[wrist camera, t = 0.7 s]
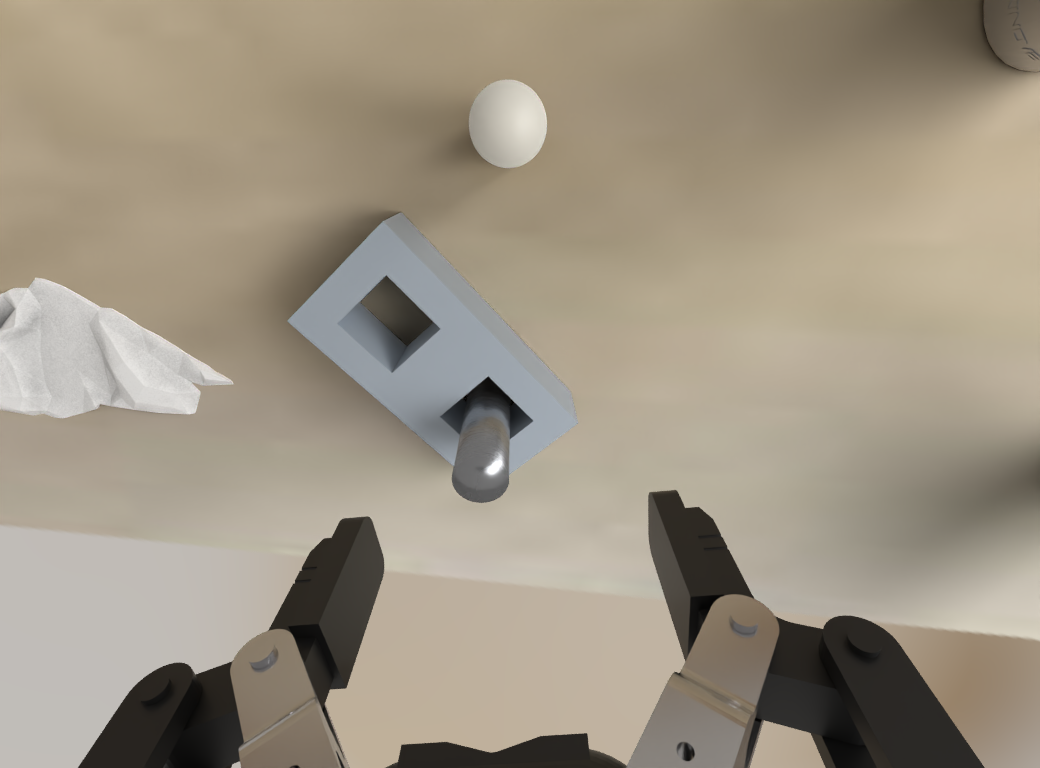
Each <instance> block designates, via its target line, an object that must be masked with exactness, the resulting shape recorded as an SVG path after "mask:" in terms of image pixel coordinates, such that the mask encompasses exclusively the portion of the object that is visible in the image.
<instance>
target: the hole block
mask: <svg viewBox="0 0 1040 768" xmlns="http://www.w3.org/2000/svg"><path fill="white" fill-rule="evenodd" d="M386 276H388V277H389V278H390V279H391V280H392V281H393V282H394V283H395V284H396V285H397V286H398V287H399V288H400V289H401V290H402V291H403V292H404V293H405V294H406V295H407V296H408V297H409V298H410V299H411V300H412V301H413V302H414V303H415V304H416V305H417V306H418V307H419V308H420V309H421V310H422V311H423V312H424V313H425V314H426V315H427V316H428V317H429V318H430V319H431V320H432V321H433V323H432V324H431V325H430V326H429V327H428V328H427V329H426V330H424V331H423V332H422V333H421V334H420V335H419V336H418V337H417V338H416V339H415V340H414V341H412V342H411V343H410V344H409V345H408V346H406V345H405V344H404V343H403V342H402V341H401V340H400V339H399V338H397V337H396V336H395V335H394V334H393V333H392V332H391V331H390V330H389V329H388V328H387V327H386V326H385V325H384V324H383V323H382V322H380V321H379V320H378V319H377V318H376V317H375V316H374V315H373V314H372V313H371V312H370V311H369V310H368V309H367V308H366V307H365V306H364V305H362V304H361V303H360V302H361V301H362V300H363V299H364V298H365V297H366V296H367V295H368V294H369V293H370V292H371V291H372V290H373V289H374V288H375V287H376V286H377V285H378V284H379V283H380V282H381V281H382V280H383V279H384V278H385V277H386ZM287 322H289V323H290V324H291V325H292V326H293V327H294V328H295V329H297V330H298V331H299V332H300V333H301V334H302V335H304V336H305V337H306V338H307V339H308V340H309V341H310V342H312V343H313V344H314V345H315V346H316V347H317V348H318V349H320V350H321V351H322V352H323V353H324V354H325V355H326V356H328V357H329V358H330V359H331V360H332V361H333V362H334V363H336V364H337V365H338V366H339V367H340V368H341V369H342V370H344V371H345V372H346V373H347V374H348V375H349V376H351V377H352V378H353V379H354V380H355V381H356V382H357V383H359V384H360V385H361V386H362V387H363V388H364V389H365V390H367V391H368V392H369V393H370V394H371V395H372V396H373V397H375V398H376V399H377V400H378V401H379V402H380V403H381V404H383V405H384V406H385V407H386V408H387V409H388V410H389V411H391V412H392V413H393V414H394V415H395V416H396V417H398V418H399V419H400V420H401V421H402V422H403V423H404V424H406V425H407V426H408V427H409V428H410V429H411V430H412V431H414V432H415V433H416V434H417V435H418V436H419V437H420V438H422V439H423V440H424V441H425V442H426V443H427V444H428V445H430V446H431V447H432V448H433V449H434V450H435V451H436V452H438V453H439V454H440V455H441V456H442V457H443V458H444V459H446V460H447V461H448V462H449V463H450V464H451V465H453V466H454V464H455V458H456V453H457V448H458V443H459V438H460V433H461V428H462V423H463V417H464V412H465V407H466V402H465V401H464V400H463V399H462V398H463V397H464V396H465V395H466V394H467V393H469V392H470V391H471V390H472V389H473V388H475V387H476V386H477V385H478V384H479V383H481V382H482V381H483V380H484V379H485V378H487V377H488V376H489V377H490V378H491V379H492V380H493V381H494V382H495V383H496V384H497V385H498V386H499V387H500V388H501V389H502V390H503V391H504V392H505V393H506V394H507V395H508V396H509V397H510V398H511V399H512V400H513V401H514V402H515V403H514V404H513V405H512V406H510V446H509V474H511V473H512V472H514V471H515V470H516V469H518V468H519V467H520V466H522V465H523V464H524V463H526V462H527V461H528V460H530V459H531V458H532V457H534V456H535V455H536V454H538V453H539V452H540V451H542V450H543V449H544V448H546V447H547V446H548V445H550V444H551V443H552V442H554V441H555V440H556V439H558V438H559V437H560V436H562V435H563V434H564V433H566V432H567V431H568V430H570V429H571V428H572V427H574V426H575V425H576V424H578V420H577V416H576V412H575V407H574V403H573V399H572V395H571V391H570V390H569V389H568V388H567V387H566V386H565V385H564V384H563V383H562V382H561V381H560V380H559V379H558V378H557V377H556V375H555V374H554V373H553V372H552V371H551V370H550V369H549V368H548V367H547V366H546V365H545V364H544V363H543V362H542V361H541V360H540V359H539V357H538V356H537V355H536V354H535V353H534V352H533V351H532V350H531V349H530V348H529V347H528V346H527V345H526V344H525V343H524V342H523V341H522V339H521V338H520V337H519V336H518V335H517V334H516V333H515V332H514V331H513V330H512V329H511V328H510V327H509V326H508V325H507V324H506V323H505V321H504V320H503V319H502V318H501V317H500V316H499V315H498V314H497V313H496V312H495V311H494V310H493V309H492V308H491V307H490V306H489V305H488V303H487V302H486V301H485V300H484V299H483V298H482V297H481V296H480V295H479V294H478V293H477V292H476V291H475V290H474V289H473V288H472V287H471V285H470V284H469V283H468V282H467V281H466V280H465V279H464V278H463V277H462V276H461V275H460V274H459V273H458V272H457V271H456V270H455V269H454V267H453V266H452V265H451V264H450V263H449V262H448V261H447V260H446V259H445V258H444V257H443V256H442V255H441V254H440V253H439V252H438V251H437V249H436V248H435V247H434V246H433V245H432V244H431V243H430V242H429V241H428V240H427V239H426V238H425V237H424V236H423V235H422V234H421V232H420V231H419V230H418V229H417V228H416V227H415V226H414V225H413V224H412V223H411V222H410V221H409V220H408V219H407V218H406V217H405V216H404V214H403V213H402V212H400V213H398V214H396V215H394V216H392V217H390V218H388V219H386V220H384V221H383V222H382V223H381V224H380V225H379V226H378V227H377V228H376V229H375V230H374V231H373V232H372V233H371V234H370V235H369V236H368V237H367V238H366V239H365V240H364V241H363V242H362V243H361V244H360V245H359V247H358V248H357V249H356V250H355V251H354V252H353V253H352V254H351V255H350V256H349V257H348V258H347V259H346V260H345V261H344V262H343V263H342V264H341V265H340V266H339V267H338V268H337V269H336V271H335V272H334V273H333V274H332V275H331V276H330V277H329V278H328V279H327V280H326V281H325V282H324V283H323V284H322V285H321V286H320V287H319V288H318V289H317V290H316V291H315V292H314V293H313V294H312V296H311V297H310V298H309V299H308V300H307V301H306V302H305V303H304V304H303V305H302V306H301V307H300V308H299V309H298V310H297V311H296V312H295V313H294V314H293V315H292V316H291V317H290V318H289V319H288V321H287Z"/></svg>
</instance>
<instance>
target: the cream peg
mask: <svg viewBox="0 0 1040 768" xmlns="http://www.w3.org/2000/svg"><path fill="white" fill-rule="evenodd" d="M546 131H547V117H546V112H545V109H544V106H543V104H542V102H541V100H540V98H539V97H538V95H537V94H536V93H535V92H534V91H533V90H532V89H531V88H530V87H529V86H527V85H526V84H524V83H522V82H519V81H516V80H499V81H496V82H493V83H491V84H489V85H488V86H487V87H485V88H484V89H483V90H482V91H481V92H480V93H479V94H478V95H477V97H476V99H475V100H474V102H473V105H472V107H471V110H470V115H469V132H470V136H471V140H472V142H473V145H474V147H475V148H476V150H477V151H478V153H479V154H480V155H481V156H482V157H483V158H484V159H485V160H486V161H488V162H489V163H491V164H493V165H495V166H498V167H501V168H515V167H519V166H522V165H524V164H526V163H527V162H529V161H530V160H531V159H533V158H534V157H535V156H536V154H537V153H538V152H539V150H540V149H541V147H542V145H543V143H544V140H545V137H546Z"/></svg>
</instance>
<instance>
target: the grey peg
mask: <svg viewBox="0 0 1040 768" xmlns="http://www.w3.org/2000/svg"><path fill="white" fill-rule="evenodd" d="M509 446H510V397H509V396H508V395H507V394H506V393H505V392H504V391H503V390H502V389H501V388H500V387H499V386H498V385H497V384H496V383H495V382H494V381H493V380H492V379H491V378H490V377H489V376H488V377H487V378H485V379H484V380H483V381H482V382H481V383H479V384H478V385H477V386H476V387H475V388H473V389H472V390H471V391H470V392H469V393H468V397H467V402H466V407H465V412H464V417H463V423H462V428H461V433H460V438H459V443H458V448H457V453H456V458H455V464H454V469H453V474H452V483H453V486H454V488H455V490H456V491H457V493H458V494H459V495H460V496H462V497H463V498H465V499H467V500H469V501H472V502H479V503H484V502H490V501H493V500H495V499H497V498H499V497H500V496H501V495H503V493H504V492H505V491H506V489H507V487H508V484H509Z"/></svg>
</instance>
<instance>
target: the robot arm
mask: <svg viewBox="0 0 1040 768" xmlns="http://www.w3.org/2000/svg"><path fill="white" fill-rule="evenodd" d="M983 11H984V27H985V31H986V35H987V39H988V42H989V44H990V46H991V47H992V49H993V51H994V53H995V54H996V55H997V56H998V57H999V58H1000V59H1001V60H1002V61H1003V62H1004V63H1005V64H1007V65H1010V66H1012V67H1014V68H1016V69H1018V70H1025V71H1032V72H1036V71H1040V0H984V5H983ZM648 517H649V544H650V550H651V554H652V558H653V561H654V564H655V567H656V570H657V574H658V577H659V580H660V583H661V586H662V589H663V592H664V596H665V599H666V602H667V605H668V608H669V611H670V614H671V618H672V621H673V624H674V627H675V630H676V633H677V636H678V640H679V643H680V646H681V649H682V652H683V655H684V659H685V664H684V666H683V668H682V670H681V672H680V673H677V672H674V673H673V674H672V675H671V677H670V679H669V680H668V682H667V684H666V686H665V688H664V690H663V692H662V694H661V696H660V699H659V701H658V703H657V705H656V707H655V709H654V711H653V713H652V715H651V717H650V720H649V721H648V723H647V726H646V728H645V730H644V732H643V734H642V736H641V738H640V740H639V742H638V744H637V746H636V748H635V750H634V752H633V755H632V757H631V759H630V761H629V763H628V765H627V766H626V765H625V764H623V763H622V762H620V761H618V760H617V759H615V758H613V757H611V756H609V755H606V754H604V753H601V752H598V751H594V750H590V749H589V746H588V736H587V733H584V734H569V735H552V736H540V737H537V738H535V739H532V740H529V741H526V742H523V743H520V744H518V745H515V746H512V747H509V748H507V749H504V750H501V751H498V752H493V753H489V752H485V751H481V750H477V749H473V748H469V747H465V746H461V745H457V744H452V743H448V742H439V743H424V744H407V745H402V746H401V750H400V755H399V760H398V762H397V763H395V764H392V765H390V766H388V767H386V768H750V765H751V761H752V758H753V755H754V751H755V748H756V744H757V741H758V738H759V735H760V731H761V728H762V725H763V721H764V720H765V721H769V722H773V723H776V724H780V725H784V726H788V727H791V728H795V729H798V730H802V731H806V732H809V733H811V735H812V737H813V740H814V742H815V744H816V746H817V749H818V751H819V753H820V756H821V758H822V760H823V762H824V765H825V767H826V768H984V766H983V765H982V763H981V762H980V760H979V759H978V758H977V756H976V755H975V753H974V752H973V750H972V749H971V747H970V746H969V745H968V743H967V742H966V740H965V739H964V737H963V736H962V734H961V733H960V731H959V730H958V729H957V727H956V726H955V724H954V723H953V721H952V720H951V719H950V717H949V716H948V714H947V713H946V711H945V710H944V708H943V707H942V705H941V704H940V702H939V701H938V700H937V698H936V697H935V695H934V694H933V692H932V691H931V690H930V688H929V687H928V685H927V684H926V683H925V681H924V679H923V678H922V677H921V675H920V673H919V672H918V671H917V669H916V668H915V666H914V665H913V663H912V662H911V660H910V659H909V658H908V656H907V655H906V653H905V652H904V650H903V649H902V647H901V646H900V645H899V643H898V642H897V641H896V640H895V638H894V637H893V636H892V635H890V634H889V633H888V632H887V631H886V630H884V629H883V628H881V627H880V626H878V625H876V624H874V623H872V622H870V621H868V620H865V619H862V618H859V617H854V616H838V617H834V618H832V619H830V620H829V621H828V622H827V623H826V624H825V626H824V629H820V628H814V627H810V626H805V625H800V624H795V623H791V622H788V621H785V620H782V619H780V618H778V617H776V616H774V614H773V613H772V612H771V611H770V610H769V608H767V607H766V606H765V605H764V604H762V603H761V602H759V601H758V600H755V599H754V597H753V596H752V594H751V592H750V590H749V588H748V586H747V584H746V582H745V580H744V578H743V576H742V574H741V573H740V571H739V569H738V567H737V565H736V563H735V561H734V559H733V557H732V555H731V553H730V551H729V549H727V545H726V543H725V541H724V540H723V538H722V537H721V534H720V532H719V530H718V528H717V526H716V524H715V522H714V520H713V519H712V518H711V517H710V516H709V515H707V514H706V513H705V512H704V511H703V510H702V509H700V508H699V507H694V508H685V507H684V504H683V502H682V500H681V498H680V496H679V494H678V492H677V491H676V490H671V491H660V492H650V493H649V497H648ZM383 574H384V558H383V554H382V550H381V547H380V544H379V541H378V538H377V535H376V532H375V528H374V525H373V522H372V520H371V518H370V517H357V518H345V519H342V520H341V521H340V522H339V524H338V526H337V528H336V530H335V532H334V534H333V536H332V538H324V539H323V540H322V541H321V542H320V543H319V544H318V545H317V546H316V547H315V548H314V549H313V550H312V551H311V552H310V553H309V555H308V557H307V559H306V561H305V563H304V565H303V567H302V571H300V572H299V574H298V576H297V578H296V580H295V584H293V585H292V587H291V589H290V591H289V593H288V595H287V597H286V599H285V601H284V602H283V604H282V606H281V608H280V610H279V612H278V614H277V615H276V617H275V619H274V621H273V623H272V625H271V627H270V629H269V630H268V631H267V632H264V633H262V634H260V635H258V636H256V637H255V638H253V639H251V640H250V641H249V642H248V643H246V644H245V645H244V646H243V647H242V648H241V649H240V651H239V652H238V653H237V655H236V656H235V658H234V660H233V661H232V662H229V663H227V664H224V665H222V666H219V667H216V668H213V669H210V670H207V671H205V672H202V673H199V674H196V675H195V673H194V672H193V670H192V669H191V667H190V666H189V665H187V664H185V663H173V664H169V665H166V666H163V667H161V668H159V669H157V670H155V671H153V672H152V673H150V674H149V675H147V676H146V677H144V678H143V679H142V680H141V681H140V682H138V683H137V684H136V685H135V686H134V687H133V689H132V690H131V691H130V692H129V693H128V695H127V696H126V698H125V699H124V700H123V702H122V703H121V705H120V706H119V708H118V709H117V711H116V712H115V714H114V715H113V717H112V718H111V720H110V721H109V723H108V724H107V726H106V727H105V729H104V730H103V731H102V733H101V735H100V736H99V737H98V739H97V740H96V742H95V743H94V745H93V746H92V748H91V749H90V751H89V752H88V754H87V755H86V757H85V758H84V760H83V761H82V763H81V764H80V766H79V767H78V768H231V766H232V764H234V763H236V762H238V761H240V763H241V768H350V767H349V765H348V762H347V760H346V757H345V754H344V752H343V749H342V746H341V744H340V741H339V738H338V736H337V733H336V730H335V728H334V725H333V723H332V720H331V717H330V715H329V712H328V710H327V707H326V705H325V702H326V699H327V696H328V693H329V690H330V689H343V688H346V687H347V685H348V681H349V679H350V675H351V672H352V669H353V666H354V663H355V660H356V657H357V654H358V651H359V648H360V645H361V642H362V639H363V636H364V633H365V630H366V627H367V624H368V621H369V617H370V615H371V612H372V609H373V605H374V603H375V599H376V597H377V594H378V590H379V587H380V584H381V581H382V578H383Z"/></svg>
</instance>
